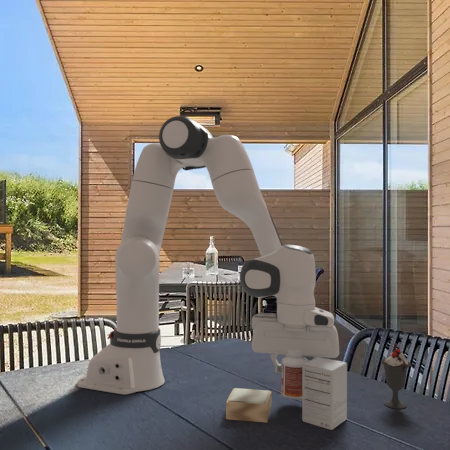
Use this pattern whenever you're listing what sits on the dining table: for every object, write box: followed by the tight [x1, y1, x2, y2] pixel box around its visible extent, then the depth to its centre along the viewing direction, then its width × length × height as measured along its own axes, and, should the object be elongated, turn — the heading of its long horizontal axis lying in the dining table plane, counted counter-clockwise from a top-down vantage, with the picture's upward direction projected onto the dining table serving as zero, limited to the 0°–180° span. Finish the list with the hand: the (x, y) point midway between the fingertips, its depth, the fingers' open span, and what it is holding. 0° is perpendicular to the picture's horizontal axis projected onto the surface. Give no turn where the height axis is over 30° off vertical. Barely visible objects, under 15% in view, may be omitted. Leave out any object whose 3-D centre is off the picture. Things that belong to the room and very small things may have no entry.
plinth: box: [225, 387, 273, 424], centre depth 112 cm, size 9×9×4 cm
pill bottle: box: [280, 350, 309, 400], centre depth 116 cm, size 6×6×11 cm
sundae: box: [380, 343, 412, 410], centre depth 117 cm, size 7×7×15 cm
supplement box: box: [301, 357, 348, 431], centre depth 108 cm, size 7×7×13 cm
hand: (294, 373), depth 116 cm, fingers closed on pill bottle, 6 cm apart
